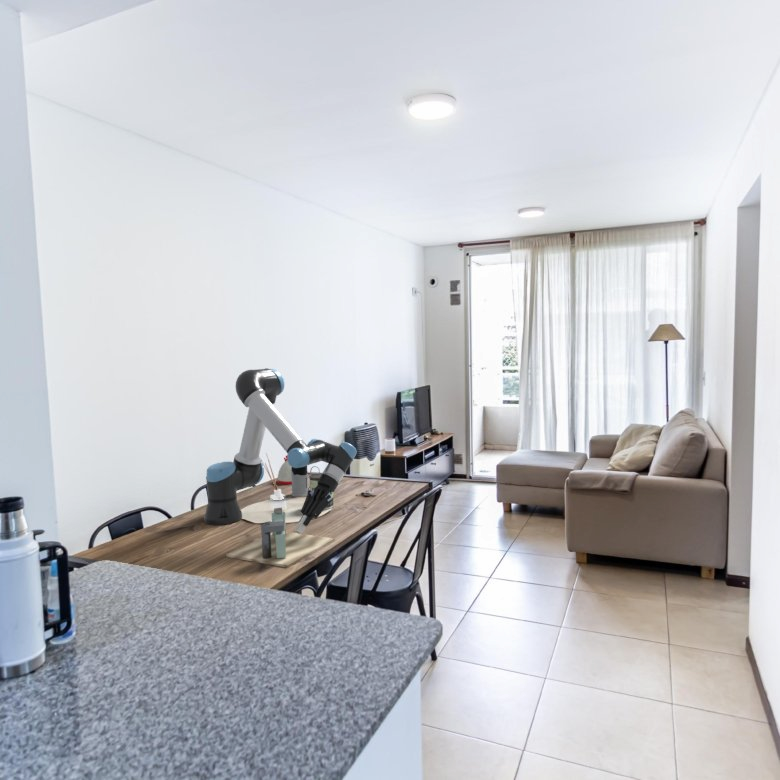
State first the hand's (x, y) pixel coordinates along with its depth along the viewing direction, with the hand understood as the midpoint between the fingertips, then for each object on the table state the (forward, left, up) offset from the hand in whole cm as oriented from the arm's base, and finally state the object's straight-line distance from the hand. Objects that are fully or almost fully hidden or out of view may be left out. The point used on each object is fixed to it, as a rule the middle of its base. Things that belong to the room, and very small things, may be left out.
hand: (297, 532), depth 210 cm
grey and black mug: (-38, +59, -4) cm, 70 cm away
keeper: (+3, -18, -3) cm, 18 cm away
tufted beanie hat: (-62, +79, -4) cm, 100 cm away
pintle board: (-1, -8, -3) cm, 9 cm away
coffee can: (-18, +43, -4) cm, 46 cm away
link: (-2, -7, -2) cm, 8 cm away
